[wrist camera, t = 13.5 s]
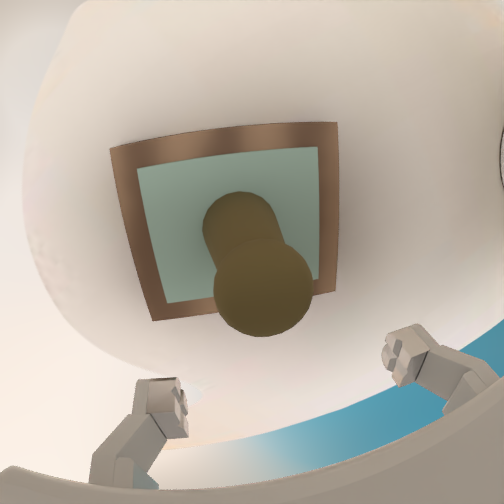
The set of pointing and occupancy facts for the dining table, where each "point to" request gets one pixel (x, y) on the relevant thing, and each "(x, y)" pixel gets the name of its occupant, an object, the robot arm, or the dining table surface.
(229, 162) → the wooden tray
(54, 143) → the dining table surface
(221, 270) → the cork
